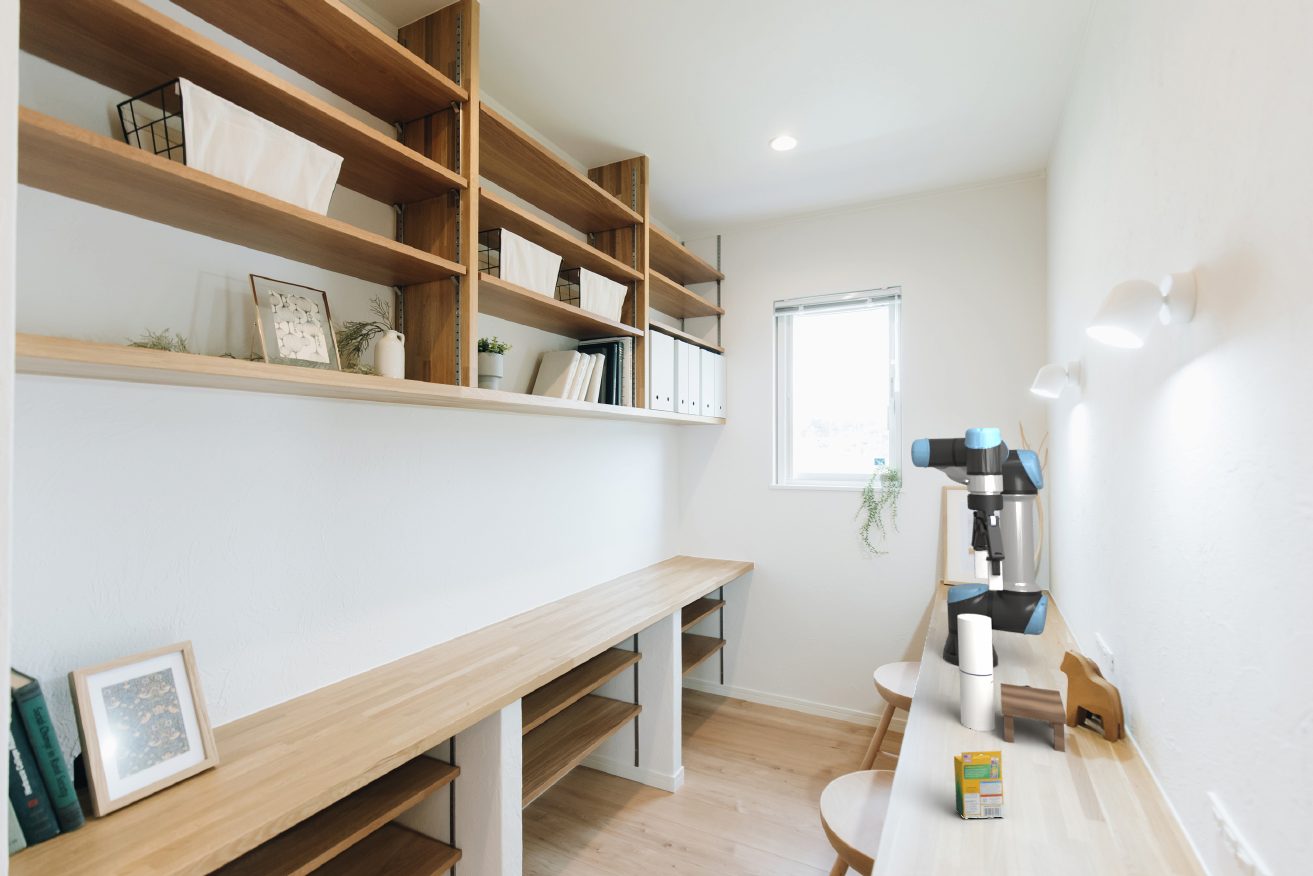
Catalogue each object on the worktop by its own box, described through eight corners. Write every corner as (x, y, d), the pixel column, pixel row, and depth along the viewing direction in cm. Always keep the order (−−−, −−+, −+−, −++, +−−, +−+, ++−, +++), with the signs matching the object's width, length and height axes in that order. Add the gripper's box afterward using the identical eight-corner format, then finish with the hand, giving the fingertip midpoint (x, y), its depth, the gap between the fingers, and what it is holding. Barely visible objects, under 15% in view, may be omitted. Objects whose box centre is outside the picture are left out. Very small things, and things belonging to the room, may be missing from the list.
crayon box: (995, 809, 112) (992, 743, 113) (1005, 818, 109) (1002, 751, 110) (955, 810, 112) (952, 744, 112) (963, 820, 109) (961, 752, 109)
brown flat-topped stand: (1001, 716, 151) (1000, 683, 152) (1060, 725, 146) (1059, 691, 146) (1002, 741, 138) (1001, 705, 138) (1067, 753, 132) (1065, 714, 133)
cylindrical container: (954, 721, 149) (950, 616, 150) (975, 716, 152) (972, 612, 153) (980, 733, 142) (976, 622, 143) (1002, 727, 145) (998, 619, 146)
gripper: (956, 490, 161) (959, 573, 160) (979, 496, 137) (983, 594, 136) (988, 489, 159) (992, 573, 158) (1018, 496, 135) (1022, 595, 134)
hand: (988, 583), depth 147 cm, fingers open, 13 cm apart
